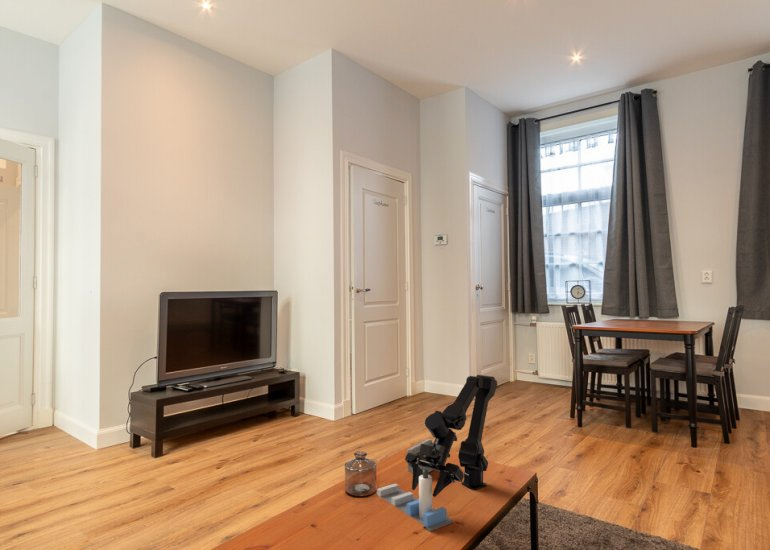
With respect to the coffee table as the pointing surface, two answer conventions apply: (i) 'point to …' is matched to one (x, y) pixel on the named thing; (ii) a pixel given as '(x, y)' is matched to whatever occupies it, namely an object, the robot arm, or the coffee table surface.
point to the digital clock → (415, 450)
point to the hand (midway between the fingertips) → (423, 492)
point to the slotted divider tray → (414, 507)
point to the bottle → (425, 493)
